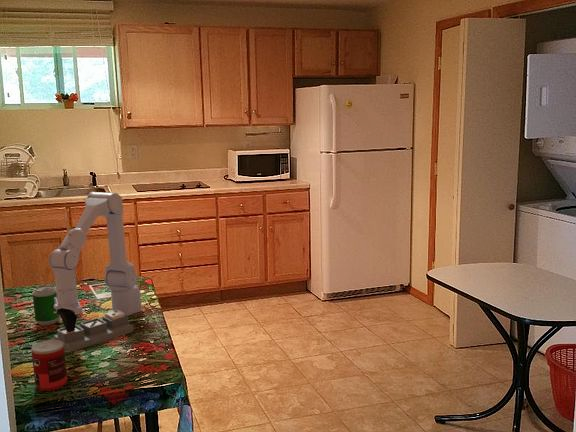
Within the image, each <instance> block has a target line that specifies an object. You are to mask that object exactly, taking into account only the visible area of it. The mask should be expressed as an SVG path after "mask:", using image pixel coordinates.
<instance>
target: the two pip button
mask: <svg viewBox="0 0 576 432" xmlns="http://www.w3.org/2000/svg"><path fill="white" fill-rule="evenodd" d="M104 316H106V318H108V319H110V320H115V319H118V318H122V317H125V313H123V312H121V311H119V310H115V311H112V312H108V311H107V312H105V315H104Z"/></svg>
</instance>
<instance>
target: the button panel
mask: <svg viewBox="0 0 576 432" xmlns="http://www.w3.org/2000/svg"><path fill="white" fill-rule="evenodd" d="M93 321H99V322H101V323H102V324H99V325H95V326H92V327H88V326H87V325H85V324H87V323H90V322H93ZM75 328H76V329H78V330H79V331H76V332H72V333H69V334H65V333H63V332H61V331H63V330H66V329H65V326H63V327H61V328H59V329H57V330H56V332H57V334H54V335H53V340H59V341H62V342H63V343H64V350H67V351H68V352H69V353H72V352H75V351H78V350H79V351H80V350H82V349H84V348H87V347H91V346H93V345H97V344H99V343H103V342H106V341H108V340H112V339H115V338H118V337H120V336H124V335H127V334H131V333H133V332H134V325H133V324H130V323H129V315H125V317H122V318H118V319H115V320H110V319H108V318H106V316H105V315H103V316H102V318H99V317H94V318H93V319H88V320H85V321H82V322H80V326H79V325H78V324H76V325H75Z"/></svg>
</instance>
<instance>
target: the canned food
mask: <svg viewBox="0 0 576 432" xmlns="http://www.w3.org/2000/svg"><path fill="white" fill-rule="evenodd" d="M65 351H66V349H65V348H64V343H63V342H62V341H59V340H54V339H46V340H41V341H39V342H36V343H35V344H32V346H31V360H32V370H33V378H34V384H35V387H36V389H37V390H39V391H41V392H42V391H43V392H44V391H45V392H51V391H55V390H59V389H61V388H63V387H64V386H65V385H66V384H67V382H68V374H67V373H68V372H67V362H66V352H65Z"/></svg>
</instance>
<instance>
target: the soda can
mask: <svg viewBox="0 0 576 432" xmlns="http://www.w3.org/2000/svg"><path fill="white" fill-rule="evenodd" d="M54 297H57V292H56V287H54V286H53V285H47V284H45V285H41V286H37V287H35V288H34V290H33V291H32V300H33V301H32V302H33V309H34V310H33V311H34V321H35V323H36V324H38V325H39V326H51V325H54V324H56V323H57V322H58V321H59V319H60V315H59V314H58V312H57V310H58V309H60V308H55V307H54V305H55V300H54Z"/></svg>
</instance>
